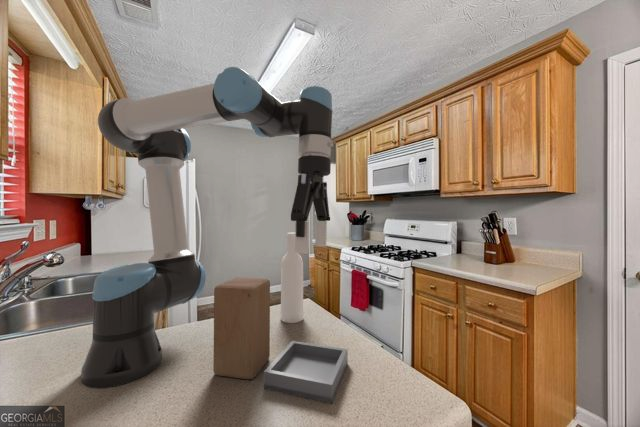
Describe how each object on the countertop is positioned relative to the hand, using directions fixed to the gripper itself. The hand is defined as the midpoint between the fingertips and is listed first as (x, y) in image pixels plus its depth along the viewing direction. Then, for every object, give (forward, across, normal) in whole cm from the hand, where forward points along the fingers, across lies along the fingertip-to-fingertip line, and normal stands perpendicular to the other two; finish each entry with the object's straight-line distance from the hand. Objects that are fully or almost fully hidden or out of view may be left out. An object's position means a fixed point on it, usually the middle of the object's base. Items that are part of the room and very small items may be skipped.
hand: (312, 249), depth 62 cm
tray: (+28, -2, -1) cm, 28 cm away
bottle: (+29, +28, +16) cm, 43 cm away
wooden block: (+28, -3, +15) cm, 32 cm away
